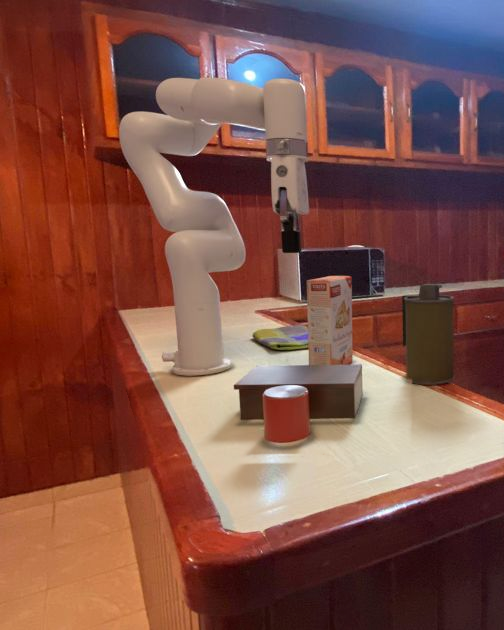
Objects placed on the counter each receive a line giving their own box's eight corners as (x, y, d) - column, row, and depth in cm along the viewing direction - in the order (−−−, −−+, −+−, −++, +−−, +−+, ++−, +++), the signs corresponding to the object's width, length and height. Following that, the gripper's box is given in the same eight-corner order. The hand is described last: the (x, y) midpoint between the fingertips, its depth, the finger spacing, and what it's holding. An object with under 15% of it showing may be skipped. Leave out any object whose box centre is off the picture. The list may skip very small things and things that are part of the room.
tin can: (259, 448, 76) (256, 398, 75) (271, 431, 83) (269, 385, 81) (305, 447, 76) (303, 397, 75) (314, 430, 83) (312, 384, 82)
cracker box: (334, 376, 114) (331, 280, 111) (308, 375, 116) (304, 279, 113) (354, 361, 128) (352, 275, 125) (331, 360, 129) (328, 274, 126)
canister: (460, 374, 115) (460, 282, 112) (446, 387, 105) (446, 287, 102) (413, 370, 119) (412, 281, 116) (396, 382, 109) (394, 286, 106)
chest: (240, 424, 86) (238, 389, 85) (263, 400, 98) (261, 369, 98) (355, 422, 86) (354, 388, 85) (362, 399, 98) (362, 368, 98)
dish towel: (271, 353, 138) (271, 342, 137) (251, 338, 159) (250, 328, 158) (335, 345, 146) (334, 335, 146) (307, 332, 167) (307, 323, 167)
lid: (233, 389, 85) (233, 384, 85) (257, 369, 98) (256, 365, 97) (354, 388, 85) (354, 383, 85) (362, 368, 98) (361, 364, 97)
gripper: (298, 145, 90) (303, 254, 93) (315, 158, 105) (318, 251, 107) (254, 146, 90) (260, 254, 93) (277, 158, 105) (281, 251, 107)
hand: (291, 252), depth 100 cm, fingers closed
